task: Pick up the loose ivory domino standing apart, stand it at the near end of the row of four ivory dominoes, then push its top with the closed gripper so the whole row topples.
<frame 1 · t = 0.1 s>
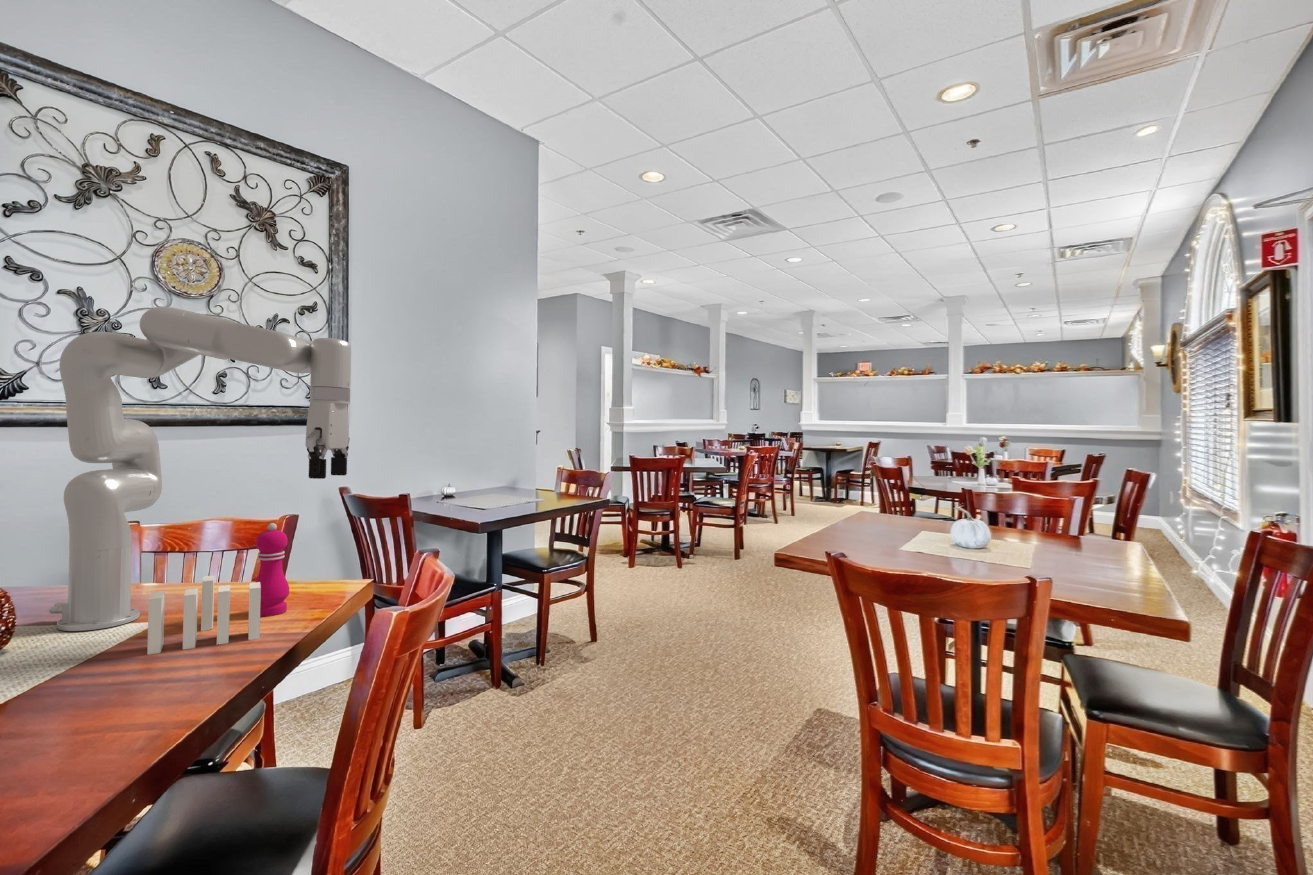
hand: (328, 476, 128), 31 cm above the table, tool pointing down, fingers open, 9 cm apart
domino 4: (222, 639, 116), on the table
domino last: (253, 635, 119), on the table
domino 3: (189, 644, 113), on the table
domino loose: (207, 626, 123), on the table
domino 2: (155, 649, 110), on the table
pepper mill: (270, 613, 134), on the table
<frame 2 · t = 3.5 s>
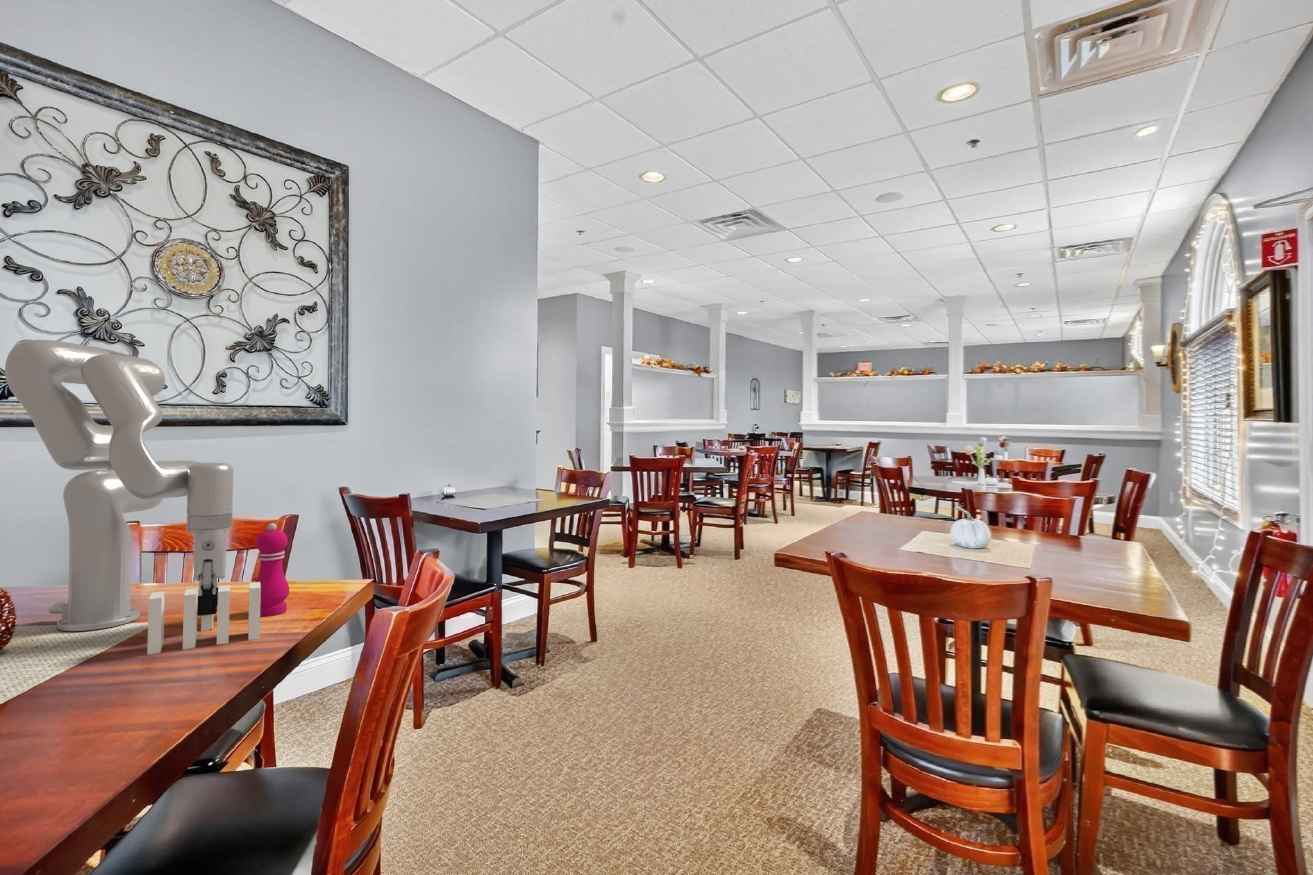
hand: (207, 609, 123), 3 cm above the table, tool pointing down, fingers closed on domino loose, 5 cm apart
domino loose: (207, 626, 123), on the table, touching gripper
everything else where it was.
when the fingers open (5 cm above the table, at t = 7.5 s): domino loose drops 1 cm, on the table.
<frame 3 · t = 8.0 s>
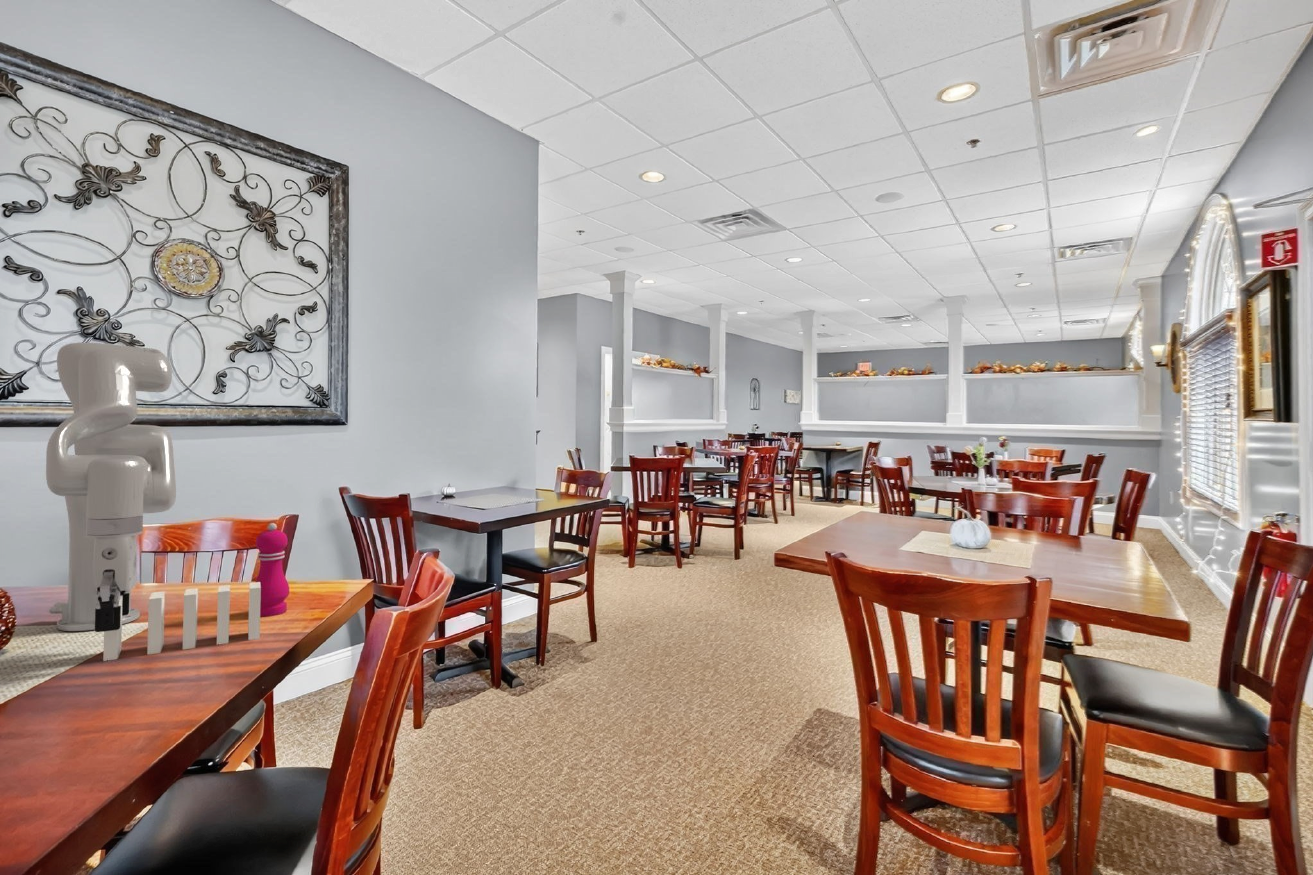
hand: (112, 622, 107), 6 cm above the table, tool pointing down, fingers open, 9 cm apart
domino loose: (112, 655, 107), on the table
everything else where it was.
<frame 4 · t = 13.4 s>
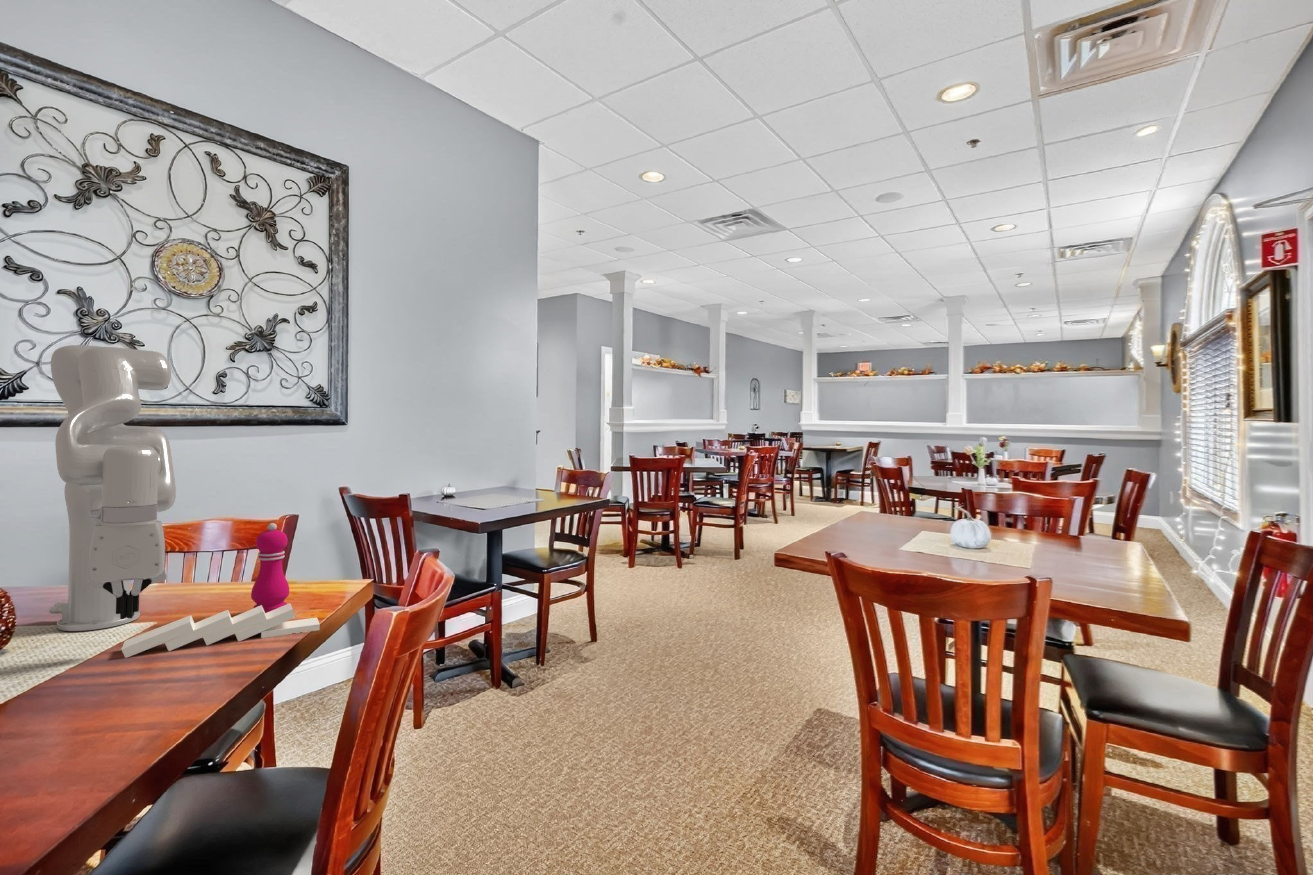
hand: (127, 616, 108), 7 cm above the table, tool pointing down, fingers closed
domino 4: (236, 633, 117), point 1 cm above the table, tilted 71°, touching domino 3, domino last
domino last: (260, 632, 119), on the table, tilted 90°, touching domino 4
domino 3: (205, 637, 114), point 1 cm above the table, tilted 70°, touching domino 2, domino 4
domino loose: (125, 649, 108), point 1 cm above the table, tilted 71°, touching domino 2
domino 2: (167, 642, 111), point 1 cm above the table, tilted 71°, touching domino 3, domino loose
everything else where it was.
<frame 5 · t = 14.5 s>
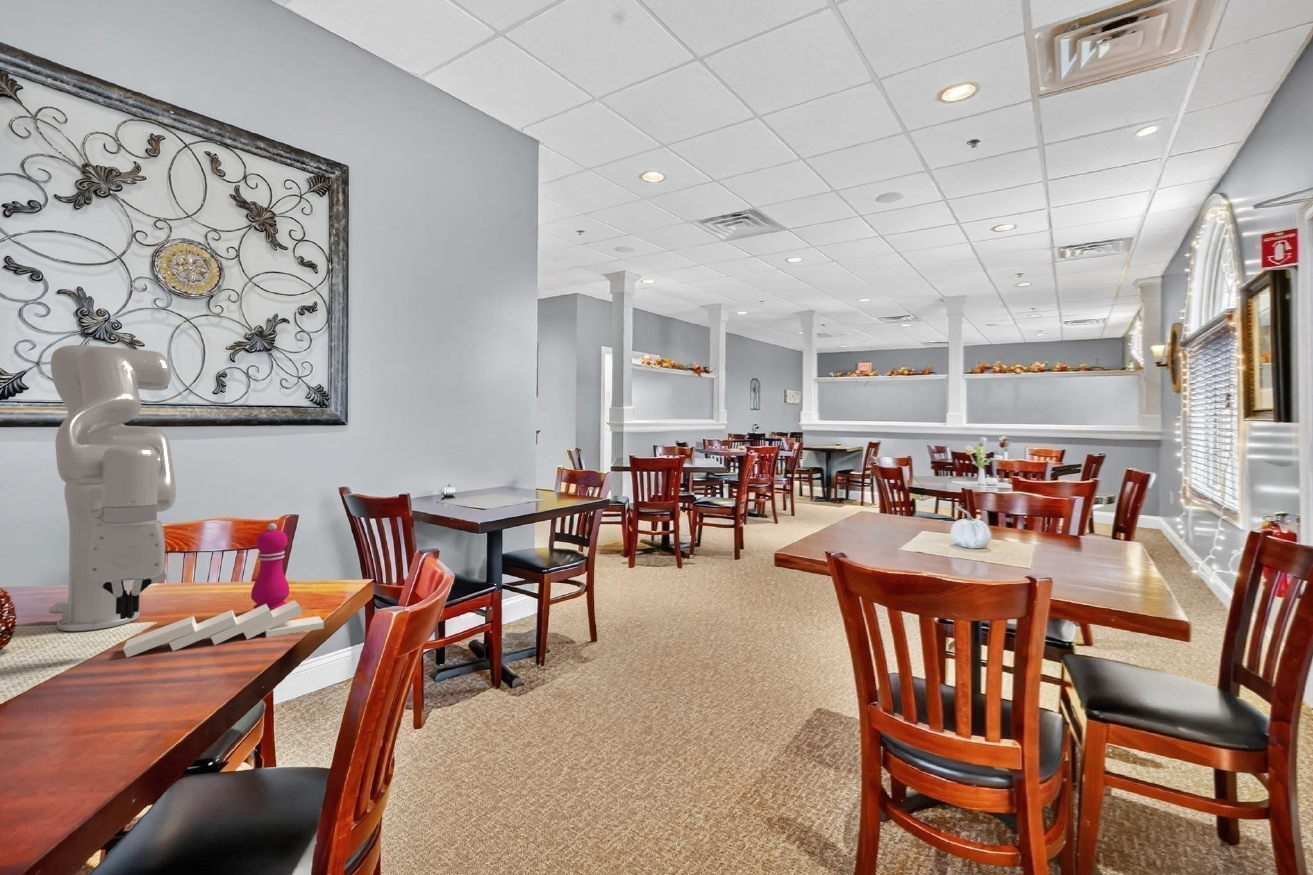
hand: (127, 616, 108), 7 cm above the table, tool pointing down, fingers closed
domino 4: (243, 632, 118), point 1 cm above the table, tilted 69°, touching domino 3, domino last
domino 3: (211, 637, 115), point 1 cm above the table, tilted 69°, touching domino 2, domino 4
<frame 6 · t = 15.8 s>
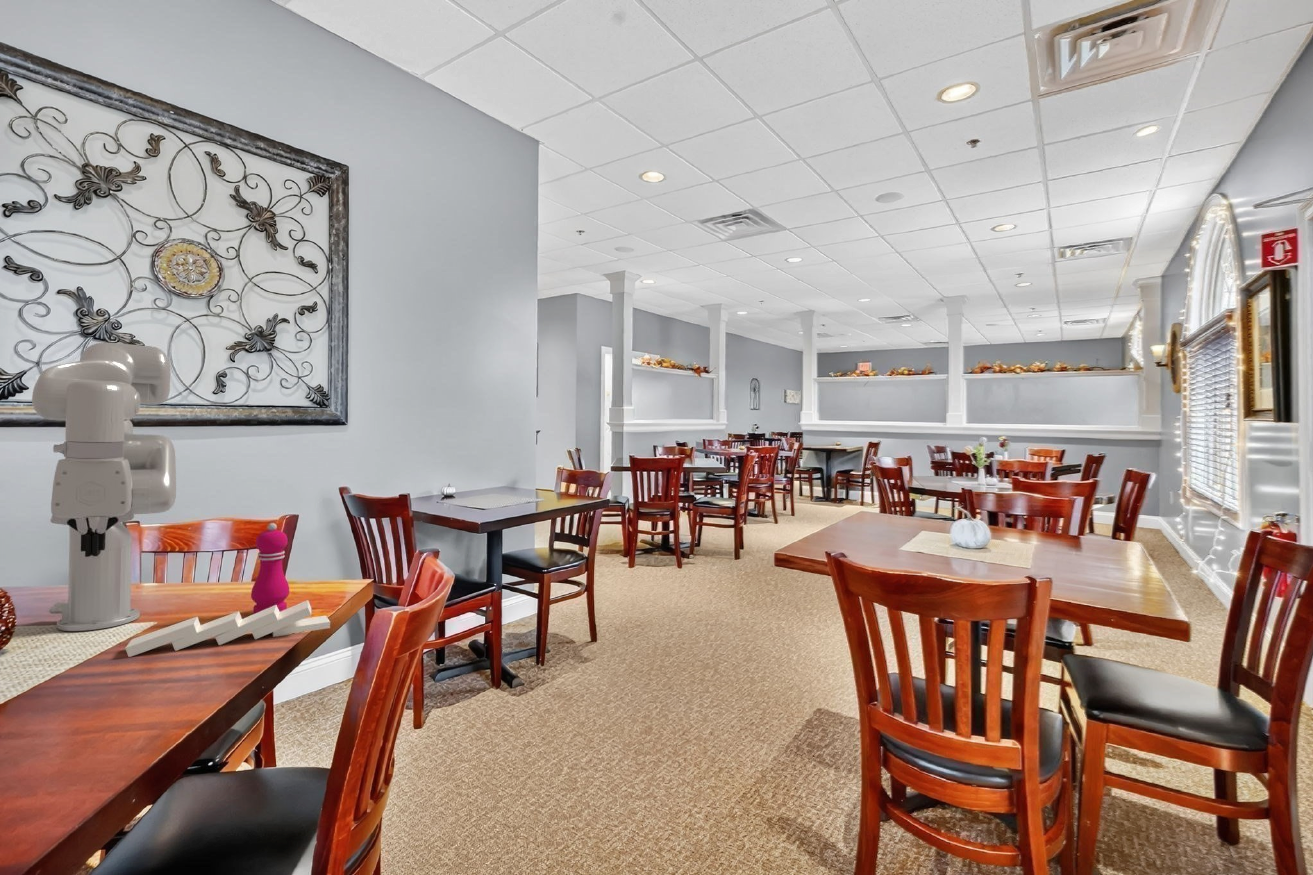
hand: (93, 554, 106), 18 cm above the table, tool pointing down, fingers closed
domino 4: (254, 631, 118), point 1 cm above the table, tilted 69°, touching domino 3, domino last
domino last: (271, 631, 120), on the table, tilted 90°, touching domino 4
domino 3: (219, 636, 115), point 1 cm above the table, tilted 68°, touching domino 2, domino 4
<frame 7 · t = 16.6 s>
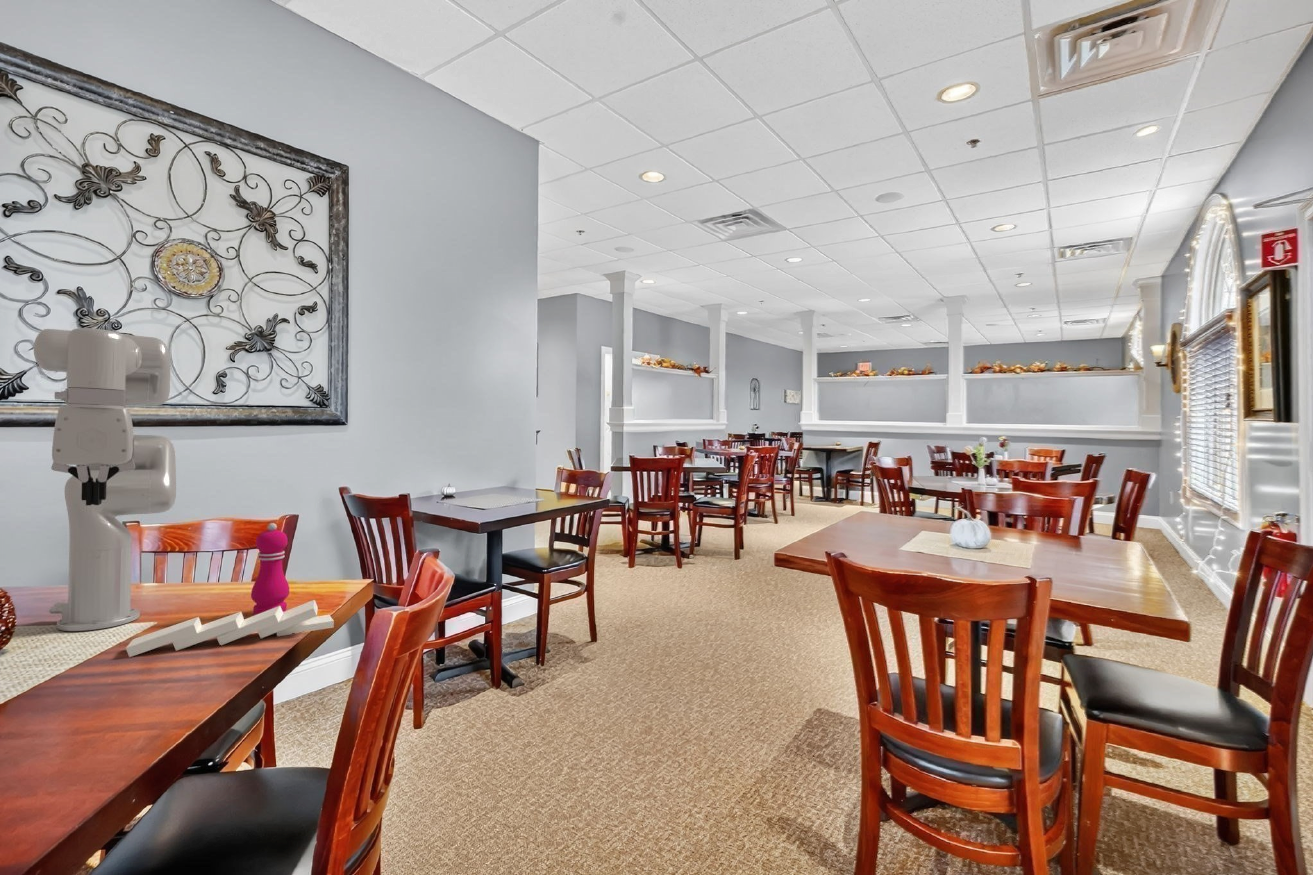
hand: (93, 504, 105), 27 cm above the table, tool pointing down, fingers closed
domino 4: (260, 629, 118), point 1 cm above the table, tilted 71°, touching domino 3, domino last
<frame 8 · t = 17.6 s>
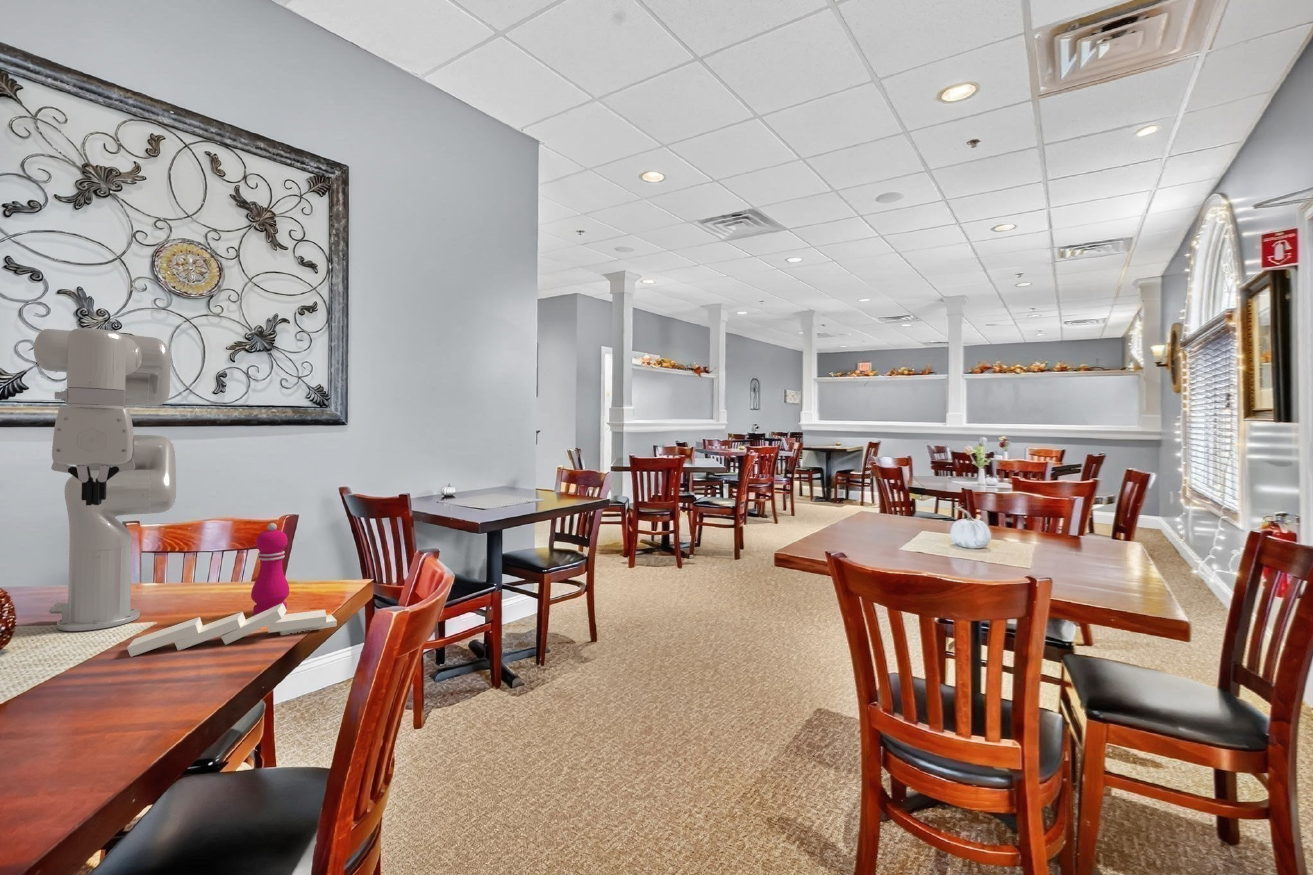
hand: (93, 504, 105), 27 cm above the table, tool pointing down, fingers closed
domino 4: (268, 624, 119), point 2 cm above the table, tilted 89°, touching domino 3, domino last
at the end: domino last tilted 90°; domino loose tilted 74°; the gripper is holding nothing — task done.
